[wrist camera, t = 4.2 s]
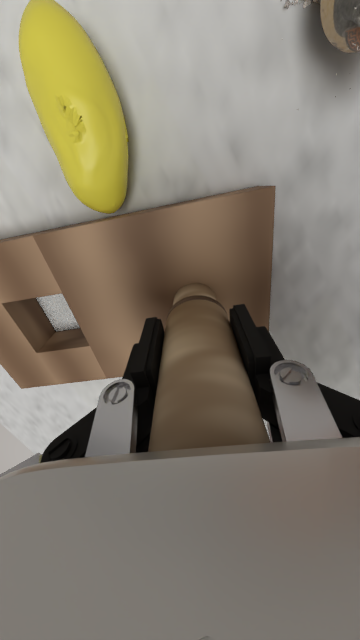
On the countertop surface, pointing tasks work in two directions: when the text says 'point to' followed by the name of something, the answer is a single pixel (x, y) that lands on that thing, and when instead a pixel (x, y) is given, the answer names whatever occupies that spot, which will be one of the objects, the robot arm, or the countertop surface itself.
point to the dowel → (202, 379)
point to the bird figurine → (339, 22)
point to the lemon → (75, 104)
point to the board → (128, 280)
